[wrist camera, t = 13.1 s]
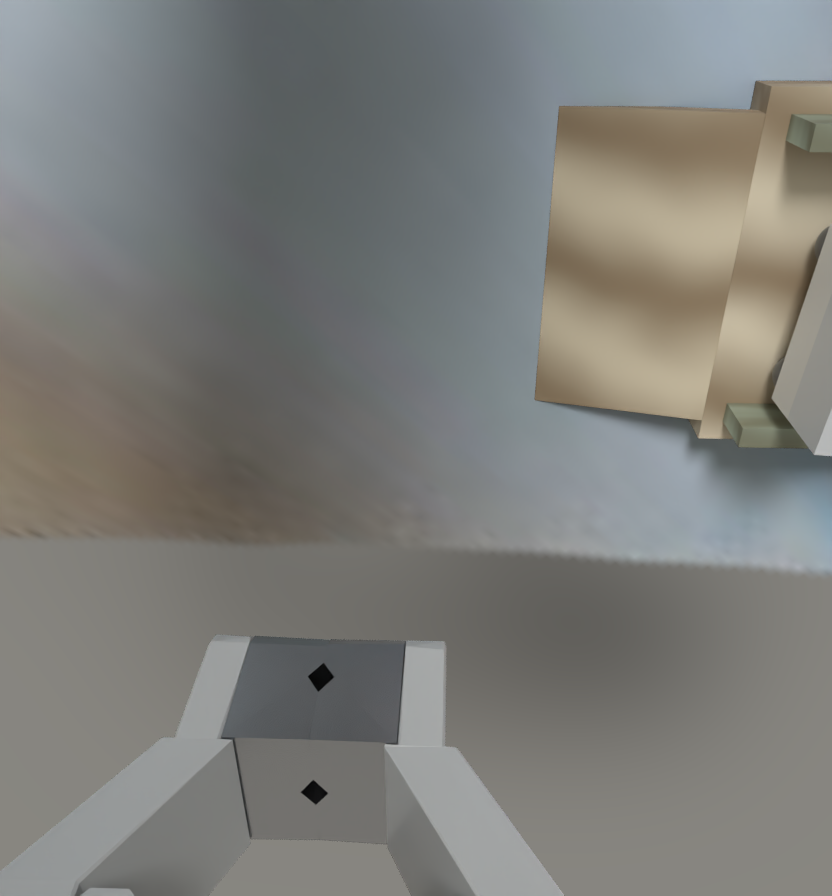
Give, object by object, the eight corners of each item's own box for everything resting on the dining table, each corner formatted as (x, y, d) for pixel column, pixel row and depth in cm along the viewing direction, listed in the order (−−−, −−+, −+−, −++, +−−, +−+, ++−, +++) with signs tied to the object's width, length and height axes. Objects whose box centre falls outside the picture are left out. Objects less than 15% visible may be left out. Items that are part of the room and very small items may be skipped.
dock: (558, 77, 34) (575, 94, 29) (1112, 78, 33) (1219, 95, 28) (531, 408, 42) (541, 461, 37) (974, 415, 41) (1040, 471, 37)
